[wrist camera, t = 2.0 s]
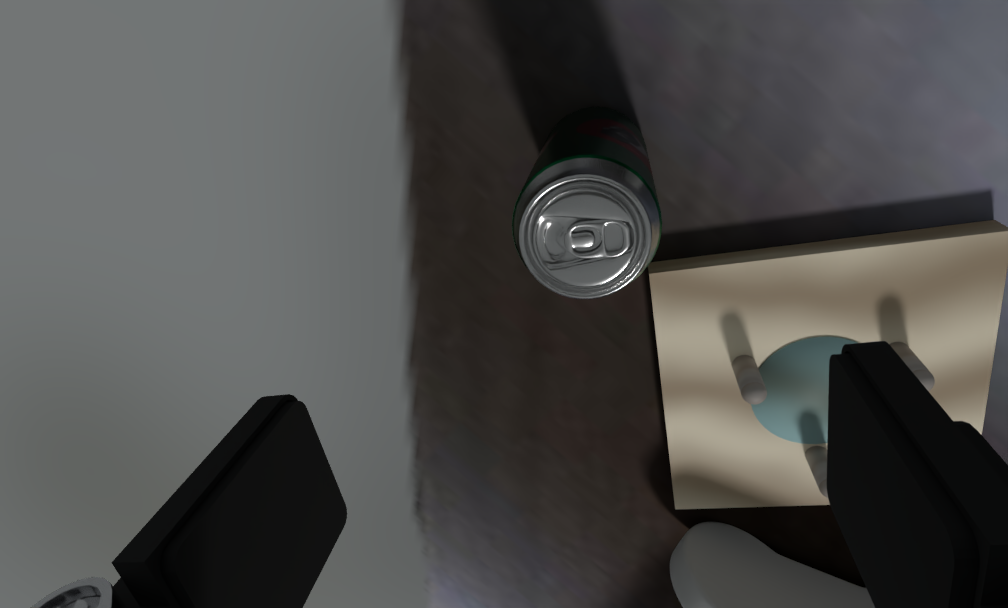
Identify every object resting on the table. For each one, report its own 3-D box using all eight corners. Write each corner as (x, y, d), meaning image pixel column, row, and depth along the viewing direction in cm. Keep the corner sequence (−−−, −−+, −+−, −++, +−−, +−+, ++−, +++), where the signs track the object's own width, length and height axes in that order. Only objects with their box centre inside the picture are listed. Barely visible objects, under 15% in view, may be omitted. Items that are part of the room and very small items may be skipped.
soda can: (538, 111, 30) (496, 171, 19) (644, 98, 29) (662, 153, 18) (549, 210, 32) (517, 313, 21) (648, 201, 31) (666, 305, 20)
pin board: (647, 262, 32) (652, 300, 28) (994, 219, 28) (1059, 256, 24) (673, 492, 39) (680, 551, 34) (958, 481, 35) (1004, 546, 31)
